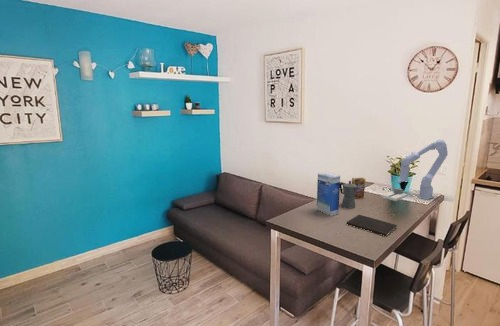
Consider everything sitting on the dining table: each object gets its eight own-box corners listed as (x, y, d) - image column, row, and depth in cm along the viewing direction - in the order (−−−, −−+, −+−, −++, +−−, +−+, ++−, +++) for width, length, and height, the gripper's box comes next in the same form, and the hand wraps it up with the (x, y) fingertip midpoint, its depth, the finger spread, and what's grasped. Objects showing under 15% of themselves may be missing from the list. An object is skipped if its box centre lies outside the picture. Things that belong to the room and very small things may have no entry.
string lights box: (339, 214, 187) (341, 175, 182) (330, 216, 183) (332, 177, 178) (323, 208, 198) (325, 171, 193) (315, 210, 194) (317, 173, 189)
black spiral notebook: (358, 217, 182) (359, 214, 182) (397, 228, 166) (397, 225, 165) (346, 225, 171) (346, 221, 171) (386, 238, 155) (386, 234, 155)
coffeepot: (360, 207, 199) (362, 182, 195) (352, 210, 194) (353, 184, 190) (342, 201, 211) (344, 177, 208) (334, 203, 206) (335, 179, 202)
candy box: (353, 198, 216) (354, 179, 212) (350, 197, 220) (351, 177, 217) (364, 198, 217) (365, 178, 214) (361, 196, 221) (362, 177, 218)
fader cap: (396, 191, 224) (396, 187, 223) (402, 193, 220) (403, 188, 219) (393, 192, 222) (393, 188, 221) (399, 194, 218) (400, 189, 217)
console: (393, 193, 228) (393, 190, 227) (407, 196, 219) (407, 194, 219) (381, 197, 218) (381, 194, 218) (395, 201, 209) (395, 198, 209)
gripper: (404, 171, 229) (402, 187, 232) (394, 173, 221) (392, 190, 224) (413, 172, 223) (411, 189, 226) (403, 175, 215) (401, 193, 218)
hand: (402, 190), depth 224 cm, fingers closed
